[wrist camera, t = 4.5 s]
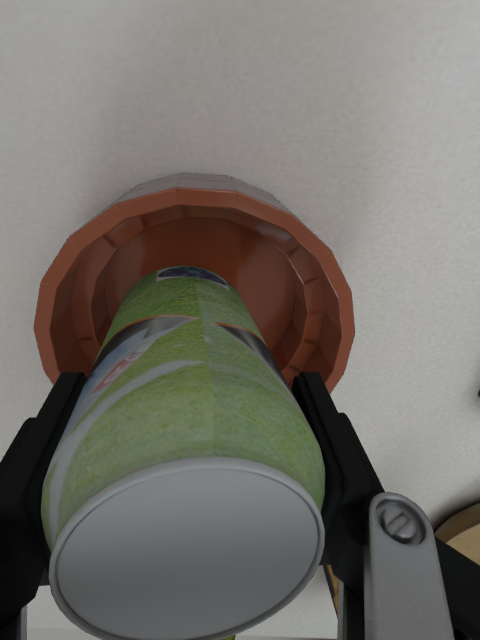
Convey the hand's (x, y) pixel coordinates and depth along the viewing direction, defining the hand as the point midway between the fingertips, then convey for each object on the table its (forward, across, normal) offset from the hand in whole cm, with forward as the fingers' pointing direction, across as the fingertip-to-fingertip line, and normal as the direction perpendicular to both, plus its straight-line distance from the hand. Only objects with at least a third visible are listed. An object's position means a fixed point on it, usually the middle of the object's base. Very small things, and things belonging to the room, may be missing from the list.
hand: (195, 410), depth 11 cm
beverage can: (+7, 0, 0) cm, 7 cm away
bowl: (+9, 0, +1) cm, 9 cm away
